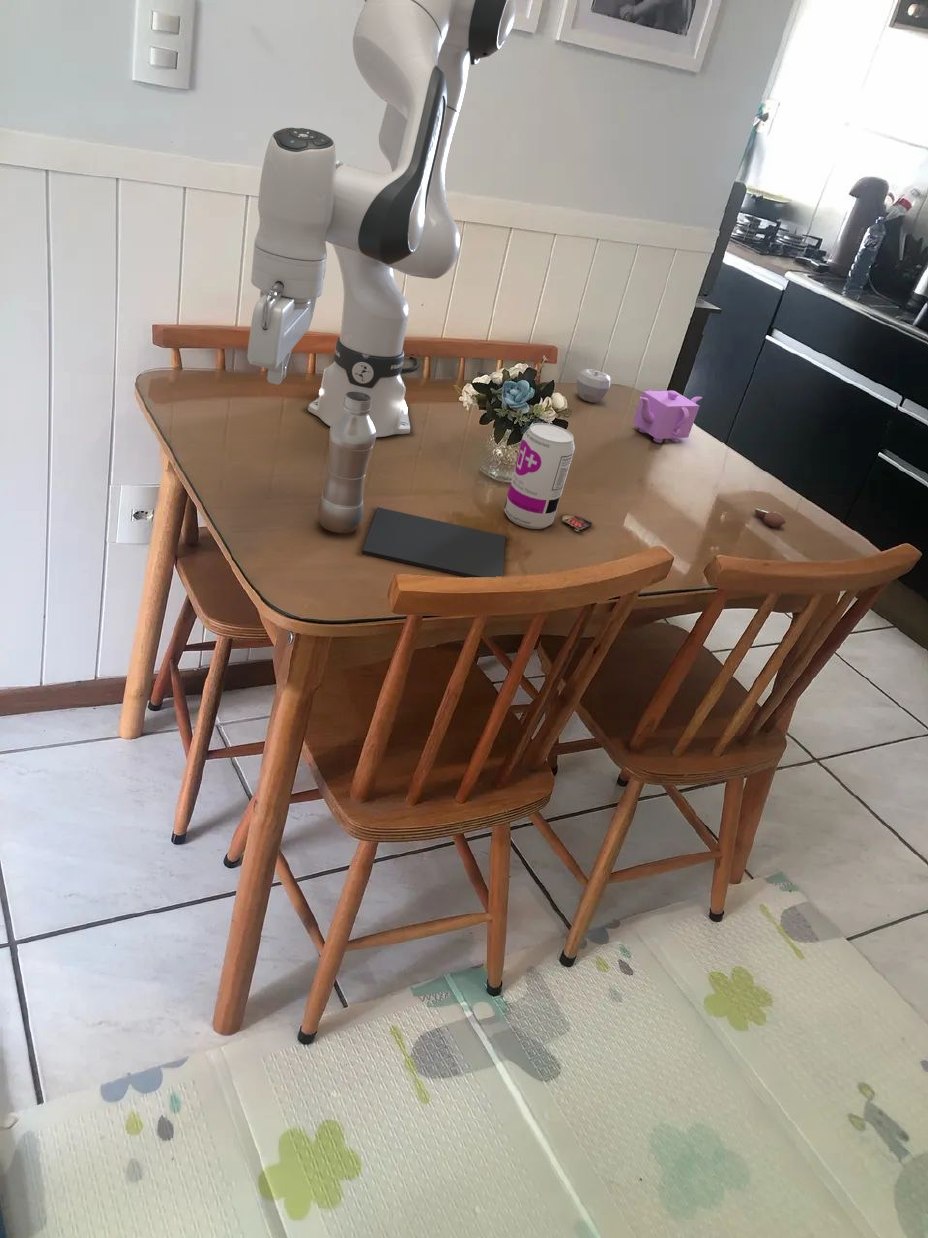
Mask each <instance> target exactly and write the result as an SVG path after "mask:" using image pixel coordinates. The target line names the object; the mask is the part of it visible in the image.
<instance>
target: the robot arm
mask: <svg viewBox="0 0 928 1238" xmlns="http://www.w3.org/2000/svg"><path fill="white" fill-rule="evenodd" d="M364 2H365V3H364V4H363V7H362V9H361V11H360V13H359V16H358V18H357V20H356V24H355V27H354V31H353V36H352V52H353V57H354V61H355V65H356V67H357V70H358V72H359V73H360V75H361V77H362V79H363V80H364V81H365V83H366V84H367V85H368V87H369V88H370V89H371V90H372V92H374V93H375V94H376V96H378V97H379V99H381V100H383V101H384V102H385V103H386V106H385V110H384V114H383V117H382V121H381V125H380V128H379V132H378V145H379V149H380V151H381V153H382V154H383V156H384V158H385V159H386V160H387V162H388V163H389V165H390V168H391V172H388V173H380V172H379V173H378V172H375V171H371V170H368V169H364V168H361V167H358V166H355V165H351V164H348V163H346V162H343V161H340V159H338V158H337V157H336V156H337V155H336V154H337V153H336V144H335V141H334V140H333V139H332V138H331V137H329V136H328V135H327V134H325V133H323V132H320V131H318V130H315V129H311V128H305V127H284V128H281V129H279V130H276V131H274V132H273V133H272V134H271V135H270V138H269V141H268V143H267V147H266V151H265V154H264V159H263V164H262V168H261V174H260V181H259V190H258V191H259V192H258V197H257V198H258V200H257V211H258V216H259V225H258V230H257V232H256V235H255V238H254V242H253V243H254V244H253V254H252V264H251V265H252V266H251V276H250V282H251V285H253V286H254V287H255V288H257V289H259V299H258V300H257V301H256V303H255V305H254V308H253V312H252V316H251V323H250V329H249V330H250V331H249V337H248V345H247V360H248V363H249V364H250V365H252V366H256V367H260V368H264V369H267V379H266V380H267V382H268V383H269V384H273V385H276V386H278V385H281V384H282V382H283V381H284V379H285V378H286V376H287V369H288V368H287V367H288V364H289V361H290V358H291V354H292V350H293V349H294V347H295V346H296V345H297V344H298V343H299V342H300V340H301V339H302V338H303V337H304V336H305V334H306V333H307V332H308V331H309V329H310V326H311V324H312V321H313V316H314V312H315V307H316V303H317V298H320V297H321V296H322V295H323V287H324V280H325V277H326V267H327V266H326V264H327V257H328V250H327V244H326V242H327V243H328V244H331V245H332V248H333V249H334V252H335V255H336V258H337V261H338V265H339V269H340V273H341V274H340V275H341V278H342V287H343V302H342V314H341V324H340V332H339V337H338V338H337V339H336V342H335V346H334V356H333V360H334V361H333V362H332V363H331V364H329V365H328V366H327V367H326V368H324V369H323V373H322V378H321V384H320V389H319V392H318V397H317V398H316V399H315V400H313V401H311V402H310V403H309V404H308V406H307V411H308V412H309V413H311V414H312V415H314V416H316V417H318V418H319V419H320V420H321V421H322V422H323V423H324V424H326V425H327V426H328V427H331V425H332V423H333V421H334V420H335V419H336V418H337V417H338V416H339V415H340V414H341V413H342V412H343V411H344V409H343V402H344V398H345V394H346V393H347V392H349V391H358V392H363V393H366V394H368V395H369V396H371V398H372V401H371V412H370V413H369V414H368V416H369V417H370V419H371V421H372V423H373V425H374V428H375V432H376V438H383V437H384V438H385V437H390V436H394V435H408V434H410V432H411V423H410V418H409V413H408V409H409V408H408V406H407V403H406V400H405V396H406V390H407V387H406V386H405V383H404V381H403V378H402V375H401V373H406V372H407V373H408V372H412V371H415V370H416V369H418V367H419V360H418V358H417V357H416V358H413V357H410V356H409V359H413V361H414V366H411V367H404V368H403V365H404V361H405V358H404V357H405V351H404V350H403V349H404V343H405V337H406V331H407V327H408V321H409V315H410V308H409V307H410V306H409V302H408V301H407V298H406V297H405V295H404V294H403V292H402V291H401V290H400V288H399V287H398V285H397V282H396V279H395V275H394V271H398V272H400V273H402V274H405V275H406V276H410V277H417V278H423V279H432V280H436V279H440V278H441V277H443V276H444V275H446V274H447V273H448V272H449V271H450V270H451V269H452V267H453V266H454V264H455V263H456V261H457V259H458V256H459V252H460V246H461V237H460V231H459V227H458V225H457V223H456V221H455V220H454V218H453V216H452V214H451V211H450V208H449V204H448V200H447V193H446V167H447V161H448V157H449V152H450V149H451V145H452V140H453V137H454V134H455V129H456V125H457V123H458V120H459V115H460V112H461V108H462V105H463V102H464V101H463V100H464V97H465V92H466V87H467V82H468V77H469V70H470V65H471V66H474V65H477V64H478V63H479V62H480V60H481V59H484V58H488V57H490V56H492V55H493V54H495V53H496V52H497V51H499V50H500V49H501V48H502V46H503V44H504V43H505V41H506V40H507V38H508V36H509V35H510V32H511V31H512V28H513V26H514V22H515V18H516V10H517V1H516V0H364Z"/></svg>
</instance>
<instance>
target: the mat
mask: <svg viewBox="0 0 928 1238" xmlns="http://www.w3.org/2000/svg"><path fill="white" fill-rule="evenodd" d="M505 547H506V535H503V534H499V533H494V532H489V531H486V530H481V529H477V528H472V527H467V526H463V525H459V524H454V523H450V522H445V521H441V520H437V519H432V518H428V517H423V516H418V515H414V514H411V513H406V512H401V511H397V510H392V509H388V508H383V507H377V508H376V511H375V513H374V517H373V518H372V523H371V525H370V528H369V531H368V534H367V536H366V539H365V541H364V544H363V547H362V550H361V554H362V555H365V556H366V555H367V556H370V557H375V558H380V559H383V560H389V561H394V562H398V563H403V564H407V565H411V566H415V567H420V568H425V569H429V570H434V571H438V572H443V573H447V574H452V575H456V576H461V577H465V578H469V577H496V576H502V577H503V575H504V574H503V573H504V563H505V562H504V561H505Z"/></svg>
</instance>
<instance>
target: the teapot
mask: <svg viewBox="0 0 928 1238" xmlns="http://www.w3.org/2000/svg"><path fill="white" fill-rule="evenodd" d="M639 399H640V400H639V402H638V405H637V408H636V412H635V414H634V418H633V421H632V424H633V425H635V426H637V427H638V428H639V429H638V432H640V433H643V434H648V435H650V436H651V437H653V439H652V441H654V442H655V443H658V444H662V443H663V441H664V439H665V440H666V439H669V440H670V441H671V442H674V443H679V439H686V438H687V439H688V438H689V437H690V434H691V431H692V428H693V425H694V423H695V420H696V417H697V415H698V412H699V409H700V405H699V404H697V402H699V401H700V400H701V399H703V397H702V396H700V395H699V396H694V397H692V398H691V399H690V398H687V397H686V396H683V395H682V394H681V393H679V392H677V391H676V390H651V389H645V390H643V391H642V392H641V396H639Z"/></svg>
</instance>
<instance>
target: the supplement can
mask: <svg viewBox="0 0 928 1238" xmlns="http://www.w3.org/2000/svg"><path fill="white" fill-rule="evenodd" d="M574 439H575V437H574V435H573V433H571V432H570V431H569V430H567V429H565V428H564V427H561V426H558V425H555V424H551V423H546V422H534V423H531V424H530V425H529V427H528V429H527V430H526V431H525V432H524V433H523V435H522V438H521V442H520V447H519V449H518V453H517V458H516V460H515V465H514V469H513V472H512V476H511V480H510V483H509V487H508V491H507V496H506V499H505V503H504V506H503V510H504V511H503V512H504V513H505V514H506V516H507V518H508V519H509V521H511V522H512V523H514V524H515V525H518V526H520V527H523V528H527V529H531V530H541V529H545V528H547V527H549V526H550V525H552V524H553V523H554V521H555V517H556V514H557V510H558V506H559V504H560V500H561V497H562V493H563V491H564V486H565V483H566V480H567V477H568V473H569V470H570V467H571V463H572V459H573V456H574V454H575V450H576V447H575V442H574Z"/></svg>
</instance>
